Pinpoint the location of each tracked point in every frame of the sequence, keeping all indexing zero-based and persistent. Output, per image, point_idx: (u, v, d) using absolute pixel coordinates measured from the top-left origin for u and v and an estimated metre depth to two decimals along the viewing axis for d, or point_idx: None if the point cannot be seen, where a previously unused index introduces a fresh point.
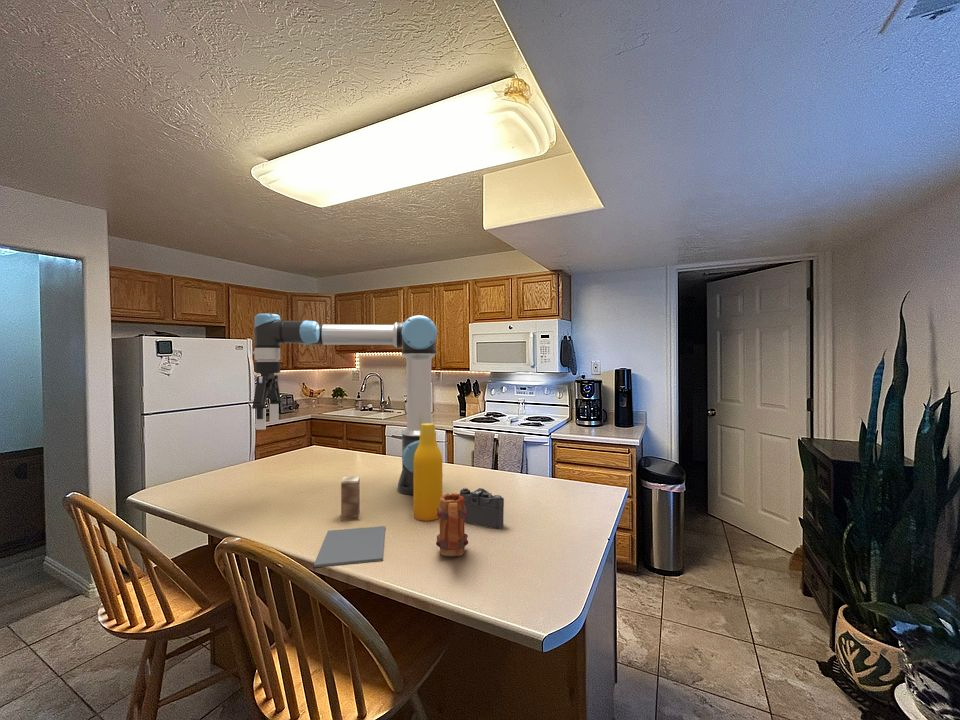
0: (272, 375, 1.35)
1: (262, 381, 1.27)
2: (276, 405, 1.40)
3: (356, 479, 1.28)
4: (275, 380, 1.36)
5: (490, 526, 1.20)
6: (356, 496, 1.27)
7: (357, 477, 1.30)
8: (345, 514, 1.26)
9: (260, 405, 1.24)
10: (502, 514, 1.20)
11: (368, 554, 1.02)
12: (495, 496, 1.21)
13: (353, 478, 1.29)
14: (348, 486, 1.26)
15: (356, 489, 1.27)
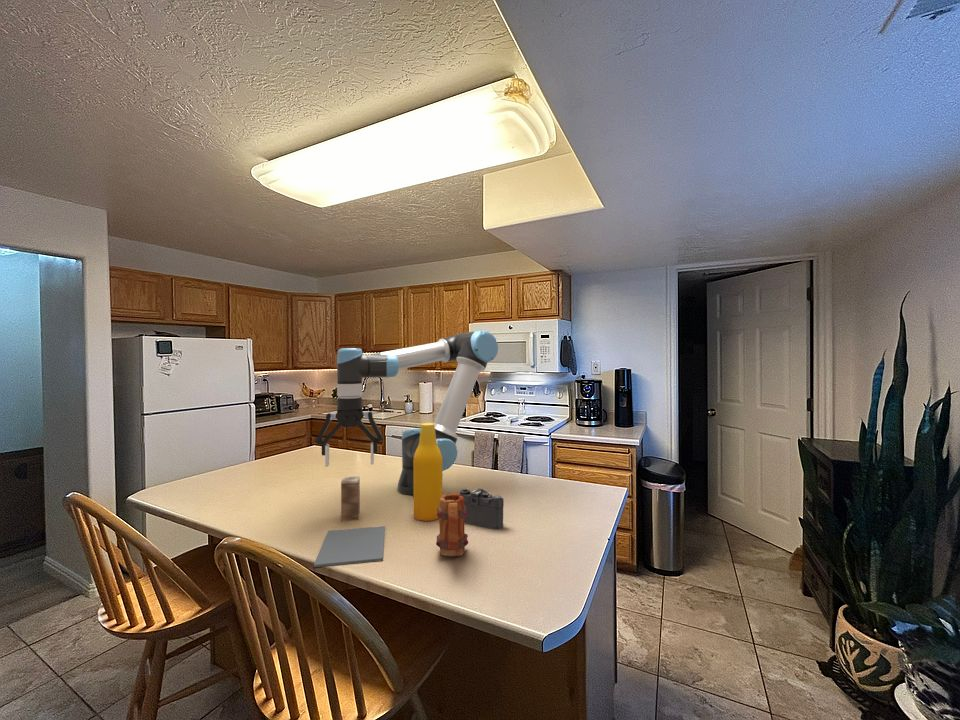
0: (353, 412, 1.28)
1: (326, 418, 1.27)
2: None
3: (356, 479, 1.28)
4: (354, 418, 1.27)
5: (490, 526, 1.19)
6: (356, 496, 1.27)
7: (357, 477, 1.30)
8: (345, 514, 1.26)
9: None
10: (502, 514, 1.20)
11: (368, 554, 1.02)
12: (495, 496, 1.20)
13: (353, 478, 1.29)
14: (348, 486, 1.26)
15: (356, 489, 1.27)
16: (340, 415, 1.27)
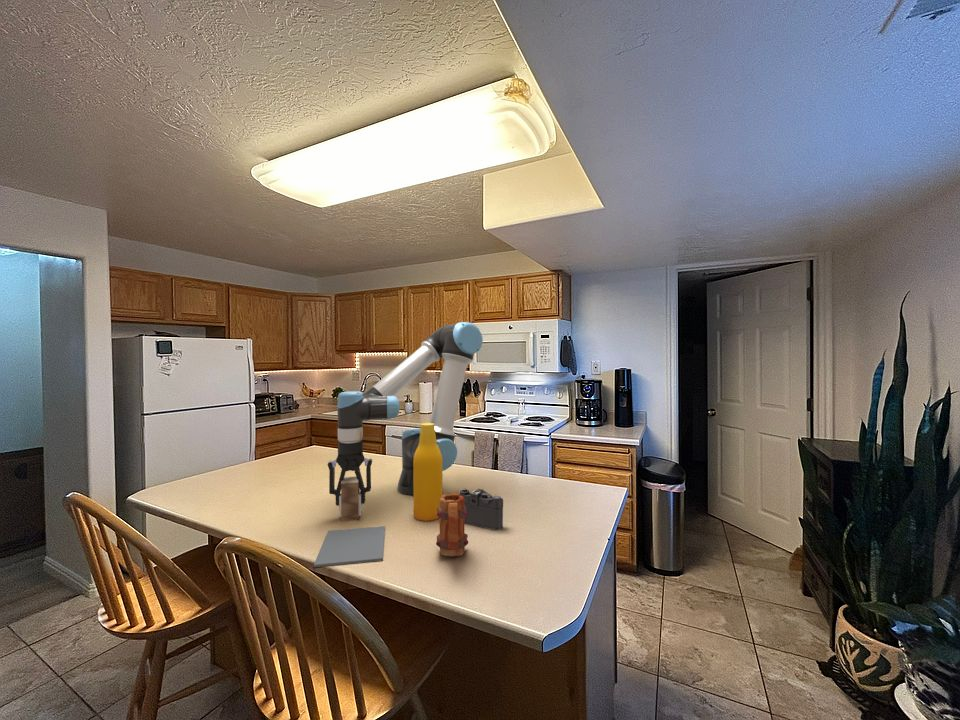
0: (356, 454, 1.28)
1: None
2: None
3: (356, 479, 1.28)
4: (355, 462, 1.27)
5: (489, 527, 1.19)
6: (356, 496, 1.27)
7: None
8: (345, 514, 1.26)
9: None
10: (501, 515, 1.19)
11: (368, 554, 1.02)
12: (494, 497, 1.20)
13: (353, 478, 1.29)
14: (348, 486, 1.26)
15: (356, 489, 1.27)
16: (340, 459, 1.27)
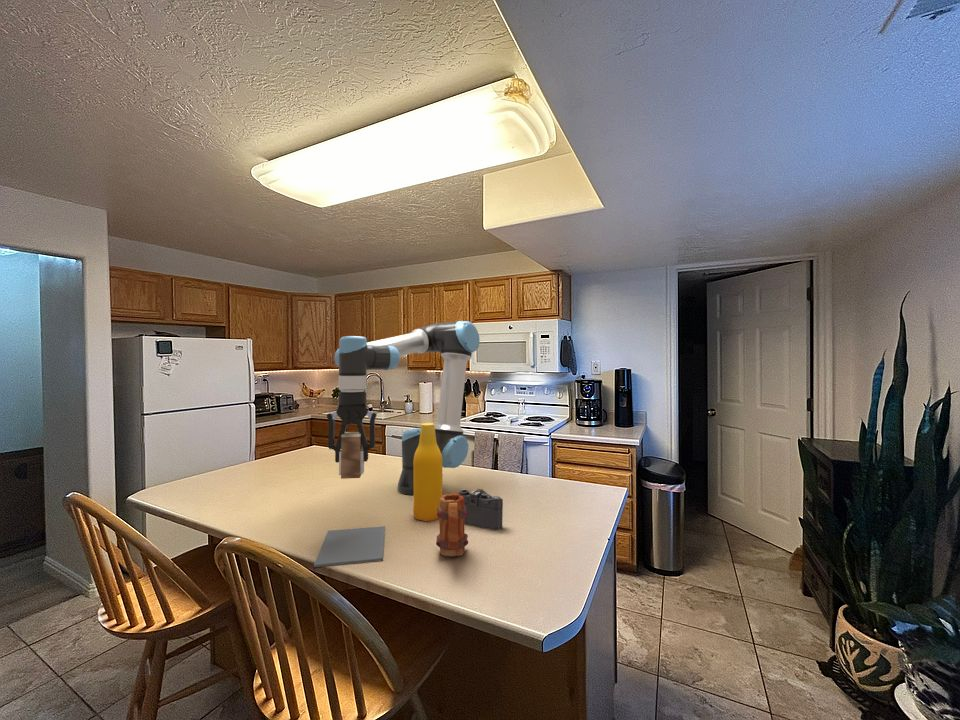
0: (359, 405, 1.15)
1: None
2: None
3: (358, 433, 1.15)
4: (357, 414, 1.14)
5: (489, 527, 1.19)
6: (358, 452, 1.13)
7: None
8: (345, 472, 1.13)
9: None
10: (501, 515, 1.19)
11: (368, 554, 1.02)
12: (494, 497, 1.20)
13: (355, 433, 1.16)
14: (349, 440, 1.13)
15: (358, 444, 1.13)
16: (341, 410, 1.14)
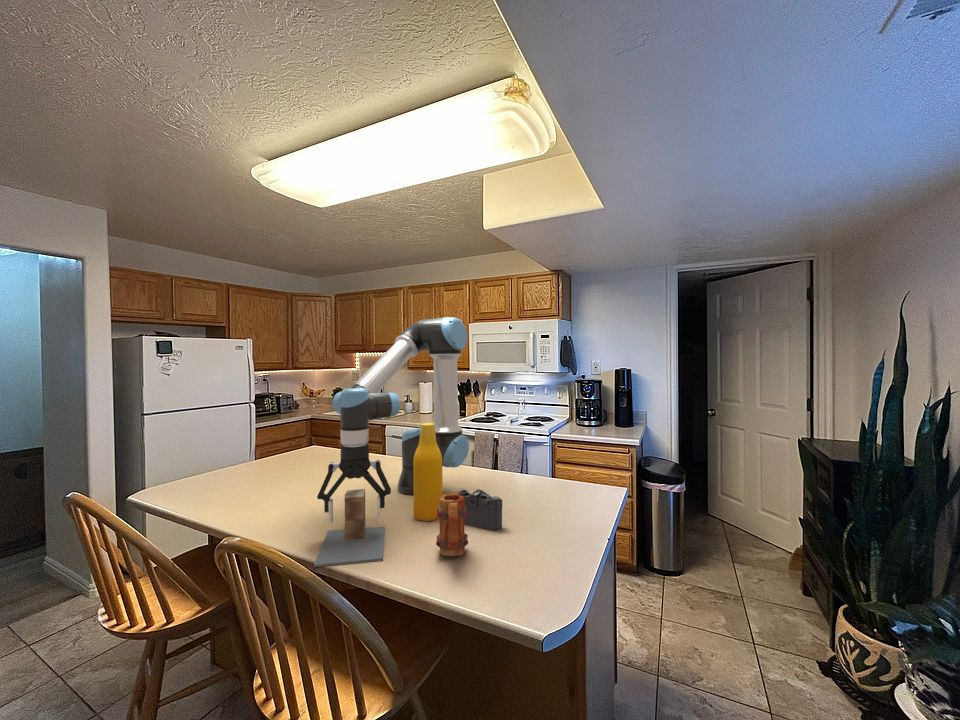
0: (359, 461, 1.13)
1: (328, 469, 1.12)
2: (377, 499, 1.14)
3: (361, 492, 1.13)
4: (360, 468, 1.12)
5: (488, 528, 1.18)
6: (362, 512, 1.11)
7: (362, 490, 1.15)
8: (349, 533, 1.11)
9: None
10: (500, 516, 1.19)
11: (368, 554, 1.02)
12: (493, 497, 1.19)
13: (358, 491, 1.14)
14: (352, 501, 1.11)
15: (362, 504, 1.11)
16: (344, 465, 1.12)
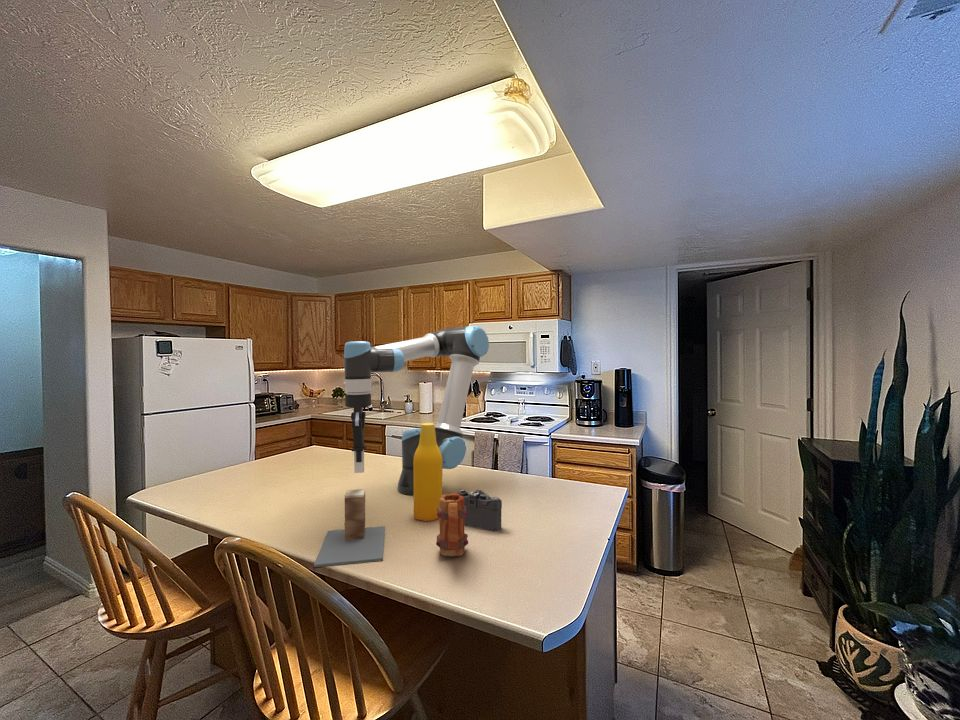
0: None
1: (359, 425, 1.16)
2: None
3: (361, 492, 1.13)
4: (365, 414, 1.24)
5: (488, 528, 1.18)
6: (362, 512, 1.11)
7: (362, 490, 1.15)
8: (349, 533, 1.11)
9: (361, 448, 1.19)
10: (500, 516, 1.18)
11: (368, 554, 1.02)
12: (493, 498, 1.19)
13: (358, 491, 1.14)
14: (352, 501, 1.11)
15: (362, 504, 1.11)
16: (361, 412, 1.19)
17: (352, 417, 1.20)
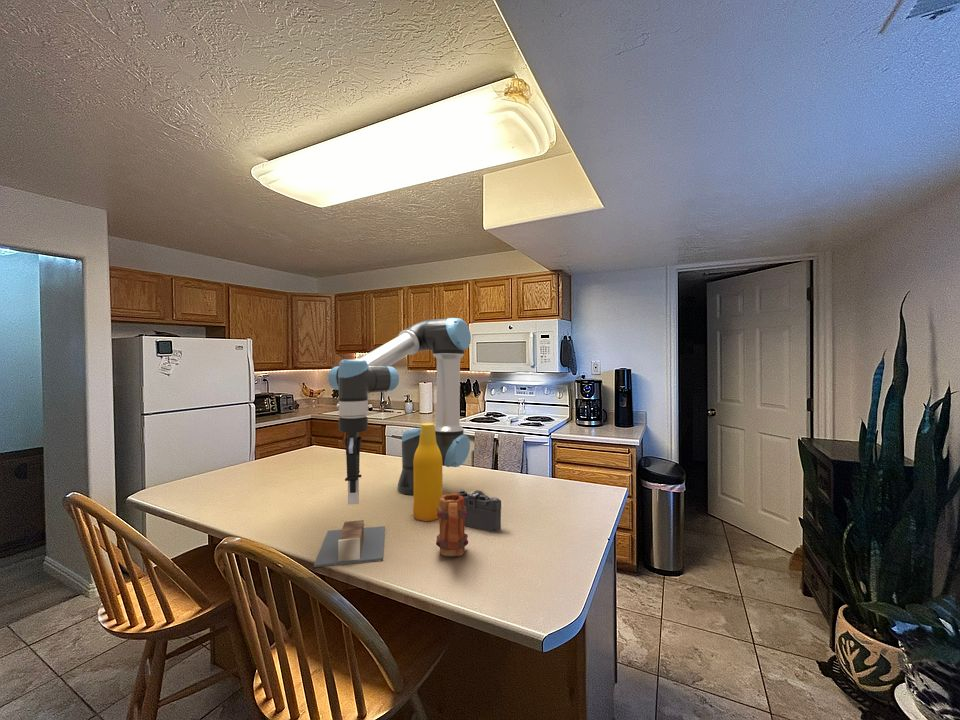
0: None
1: (353, 452, 1.05)
2: None
3: (357, 553, 1.00)
4: None
5: (487, 529, 1.17)
6: None
7: (357, 544, 1.00)
8: None
9: (355, 478, 1.07)
10: (499, 517, 1.18)
11: (368, 554, 1.02)
12: (492, 498, 1.18)
13: (352, 548, 0.99)
14: None
15: None
16: (356, 437, 1.08)
17: (346, 443, 1.08)
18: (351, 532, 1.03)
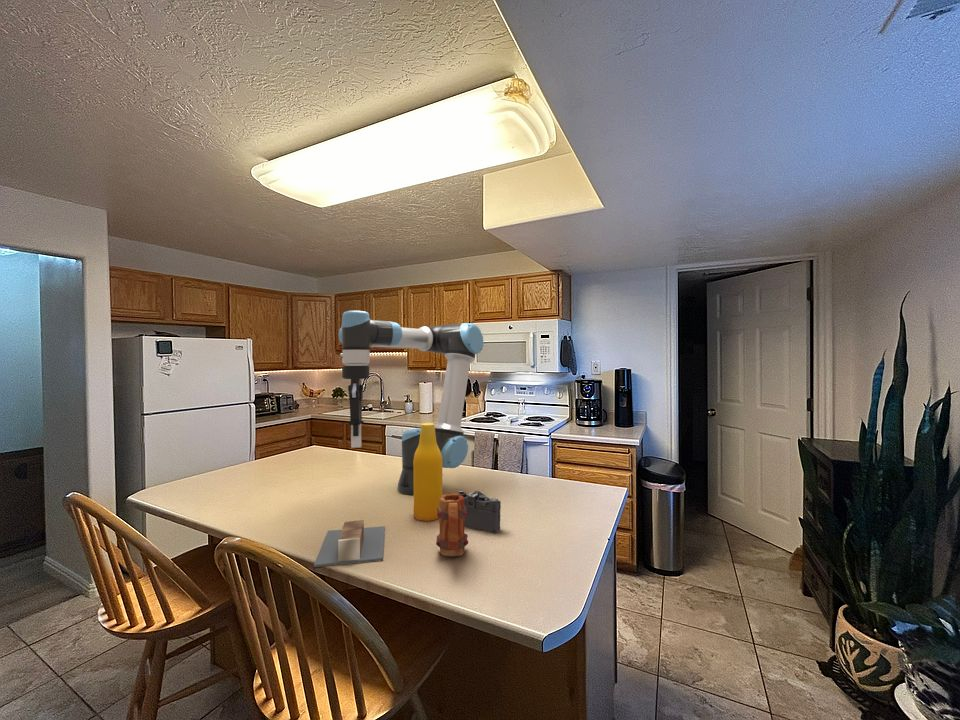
0: None
1: (356, 396, 1.12)
2: None
3: (357, 553, 1.00)
4: (363, 387, 1.19)
5: (486, 530, 1.17)
6: None
7: (357, 544, 1.00)
8: None
9: (358, 421, 1.14)
10: (499, 518, 1.17)
11: (368, 554, 1.02)
12: (492, 499, 1.18)
13: (352, 548, 0.99)
14: None
15: None
16: (359, 384, 1.15)
17: (349, 389, 1.15)
18: (351, 532, 1.03)
